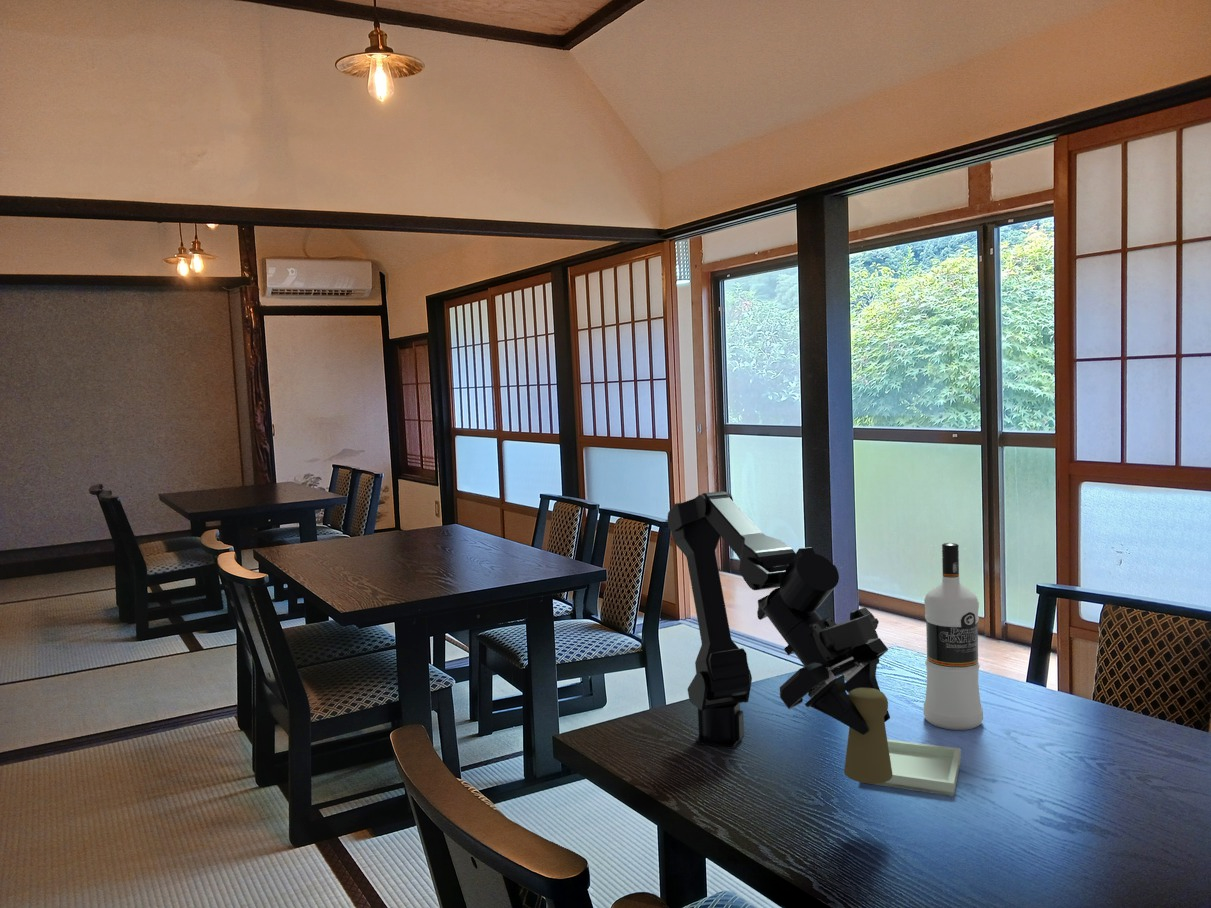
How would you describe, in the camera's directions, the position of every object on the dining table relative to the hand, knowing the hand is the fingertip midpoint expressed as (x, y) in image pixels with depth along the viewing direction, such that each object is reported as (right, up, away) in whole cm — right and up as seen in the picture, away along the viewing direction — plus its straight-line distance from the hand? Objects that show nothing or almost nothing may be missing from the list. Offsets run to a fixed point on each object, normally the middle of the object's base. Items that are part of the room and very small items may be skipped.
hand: (877, 726), depth 115 cm
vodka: (+23, -10, +35) cm, 43 cm away
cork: (-1, -7, +2) cm, 7 cm away
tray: (+10, -12, +17) cm, 23 cm away
